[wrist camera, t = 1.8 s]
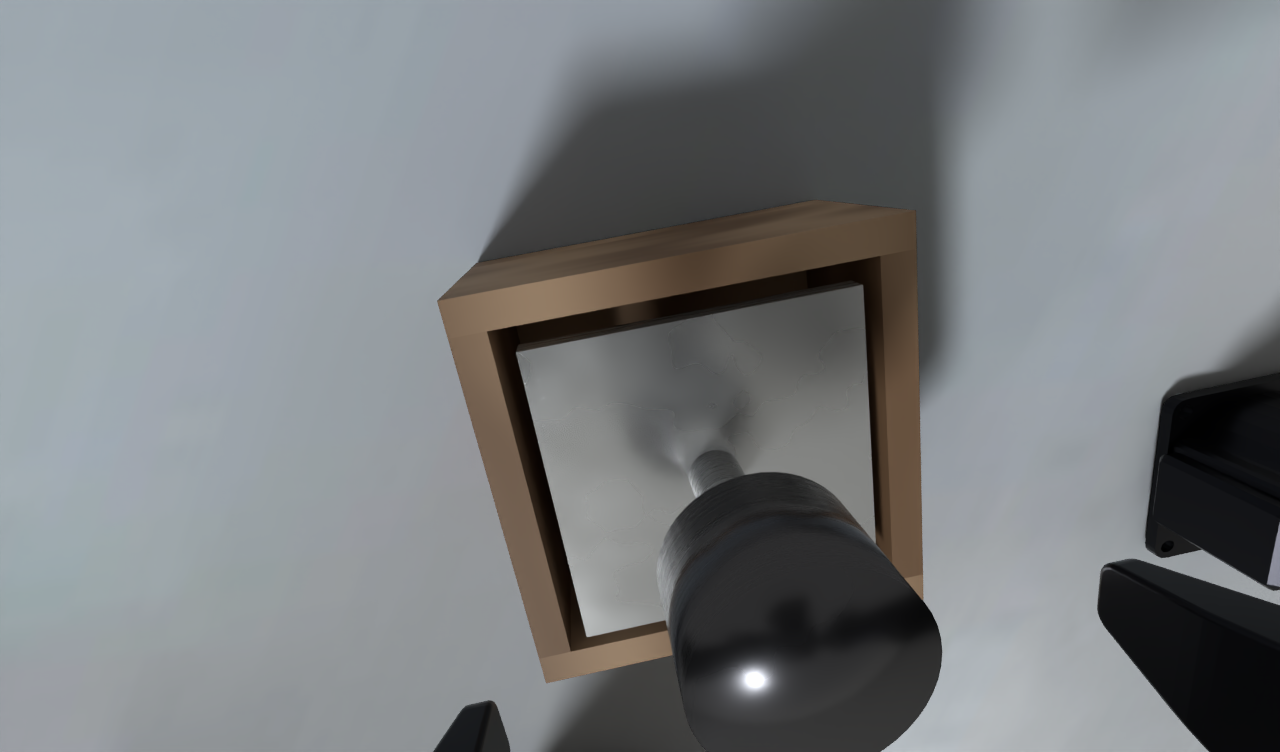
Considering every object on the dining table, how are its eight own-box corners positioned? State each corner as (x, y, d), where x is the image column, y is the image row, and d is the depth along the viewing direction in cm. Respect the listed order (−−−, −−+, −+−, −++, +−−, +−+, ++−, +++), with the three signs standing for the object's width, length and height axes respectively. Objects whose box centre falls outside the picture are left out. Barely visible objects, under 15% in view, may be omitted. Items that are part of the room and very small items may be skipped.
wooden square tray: (815, 199, 18) (915, 210, 13) (836, 495, 21) (923, 599, 16) (476, 262, 17) (437, 301, 12) (552, 555, 21) (546, 683, 15)
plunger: (850, 280, 13) (1093, 371, 7) (866, 559, 16) (1058, 808, 10) (518, 344, 13) (472, 499, 7) (586, 620, 15) (597, 920, 9)
